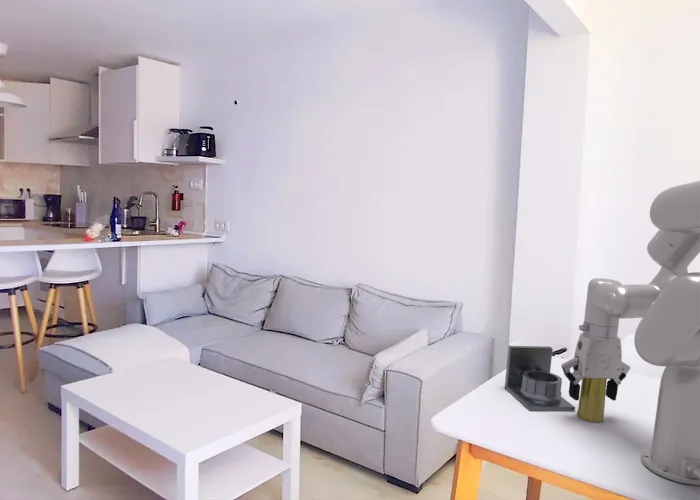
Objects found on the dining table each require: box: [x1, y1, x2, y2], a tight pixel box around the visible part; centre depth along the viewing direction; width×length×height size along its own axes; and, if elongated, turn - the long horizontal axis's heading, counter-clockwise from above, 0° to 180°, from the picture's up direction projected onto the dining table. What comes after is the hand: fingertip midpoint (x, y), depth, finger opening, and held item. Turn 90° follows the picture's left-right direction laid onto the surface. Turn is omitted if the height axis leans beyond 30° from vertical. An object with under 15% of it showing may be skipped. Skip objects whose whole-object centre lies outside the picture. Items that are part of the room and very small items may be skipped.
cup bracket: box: [504, 345, 576, 412], centre depth 140 cm, size 15×12×12 cm
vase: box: [576, 378, 608, 423], centre depth 130 cm, size 6×6×14 cm
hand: (592, 398), depth 130 cm, fingers open, 9 cm apart
